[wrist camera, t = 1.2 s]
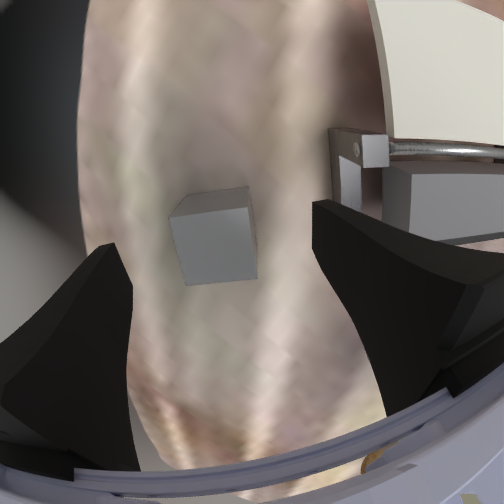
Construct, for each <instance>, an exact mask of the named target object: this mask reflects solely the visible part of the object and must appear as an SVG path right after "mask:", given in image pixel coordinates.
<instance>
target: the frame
mask: <svg viewBox="0 0 504 504" xmlns="http://www.w3.org/2000/svg"><path fill="white" fill-rule="evenodd" d="M328 136H329V147H330V160H331V175H332V193H333V201H335V202H337V203H340V204H342V205H345V206H347V207H349V208H352V209H354V210H356V211H358V212H361V213H362V194H361V167H363V168H373V167H389V155H439V156H466V157H483V158H495V163H500V164H504V146H503V145H495V148H494V147H485V146H474V145H462V144H447V143H423V142H389V141H388V135H387V134H382V133H376V132H371V131H365V130H359V129H352V128H328ZM500 238H504V232H497V233H490V234H483V235H476V236H468V237H461V238H453V239H446V240H438V242H442V243H446V244H449V245H461V244H467V243H474V242H481V241H487V240H494V239H500Z"/></svg>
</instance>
